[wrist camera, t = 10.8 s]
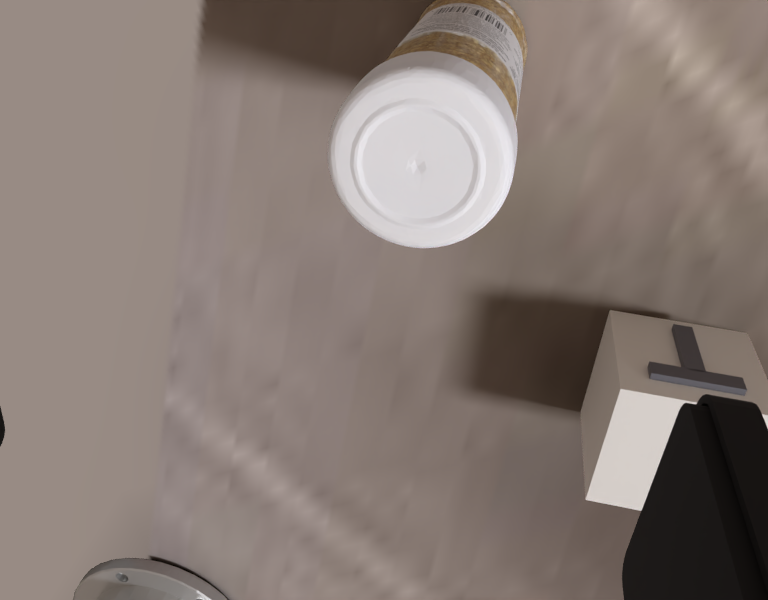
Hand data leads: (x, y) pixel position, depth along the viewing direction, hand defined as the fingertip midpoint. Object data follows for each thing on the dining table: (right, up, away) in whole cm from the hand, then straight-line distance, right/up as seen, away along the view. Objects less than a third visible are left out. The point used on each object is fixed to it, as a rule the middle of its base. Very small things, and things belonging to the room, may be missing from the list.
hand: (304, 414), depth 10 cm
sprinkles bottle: (+4, +11, +19) cm, 23 cm away
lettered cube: (+14, -2, +25) cm, 29 cm away
